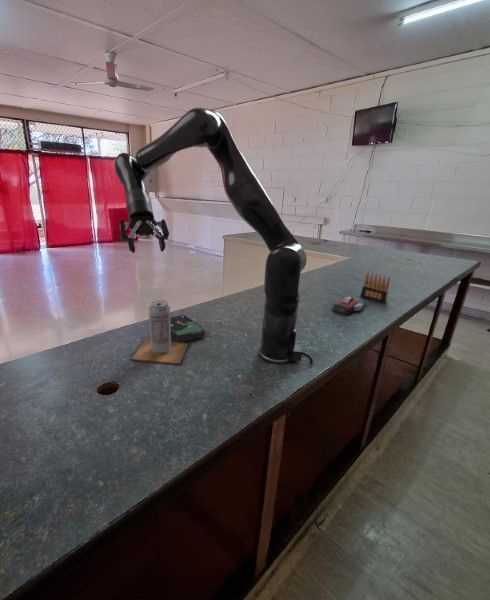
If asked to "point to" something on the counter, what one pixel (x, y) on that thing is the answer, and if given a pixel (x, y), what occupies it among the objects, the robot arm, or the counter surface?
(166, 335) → the energy drink can
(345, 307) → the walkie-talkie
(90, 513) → the counter surface
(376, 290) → the ammunition clip
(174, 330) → the disk drive
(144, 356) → the cork pad
